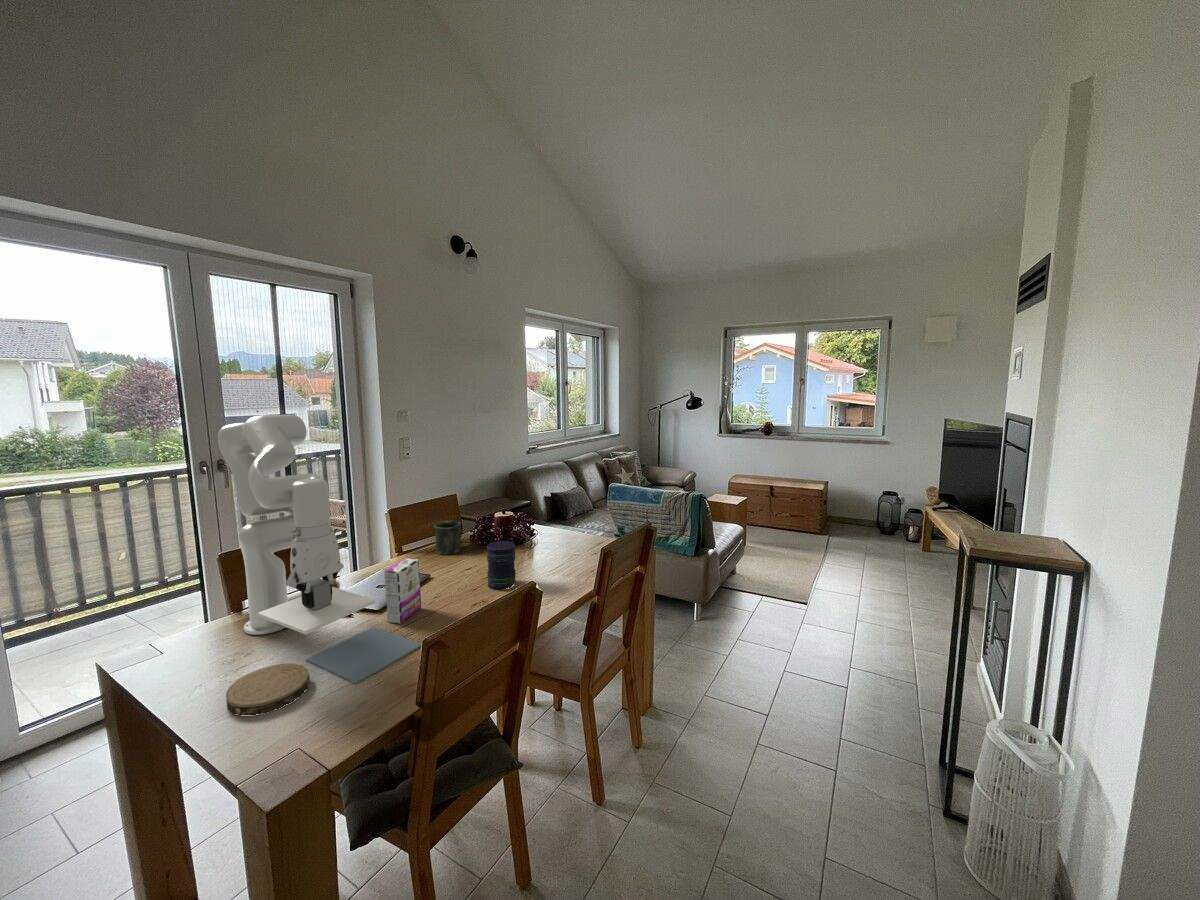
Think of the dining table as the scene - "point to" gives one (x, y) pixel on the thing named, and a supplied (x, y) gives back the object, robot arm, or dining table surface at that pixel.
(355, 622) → the dining table surface
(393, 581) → the candy bar box
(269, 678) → the cork trivet
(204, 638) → the dining table surface
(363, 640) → the mat
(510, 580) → the storage jar
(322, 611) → the lid
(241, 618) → the dining table surface
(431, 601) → the dining table surface
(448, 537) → the mug
